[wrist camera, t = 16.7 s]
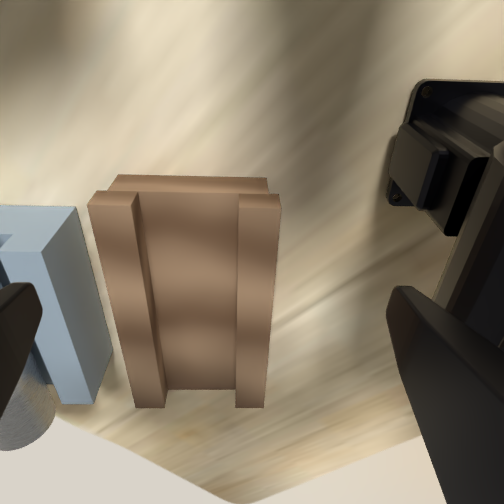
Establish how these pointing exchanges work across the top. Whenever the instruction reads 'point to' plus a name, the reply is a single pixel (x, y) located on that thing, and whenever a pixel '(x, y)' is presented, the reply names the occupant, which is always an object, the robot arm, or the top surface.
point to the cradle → (58, 296)
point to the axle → (27, 409)
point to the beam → (190, 281)
